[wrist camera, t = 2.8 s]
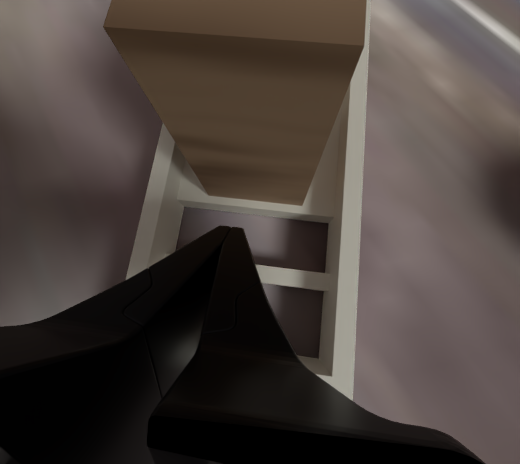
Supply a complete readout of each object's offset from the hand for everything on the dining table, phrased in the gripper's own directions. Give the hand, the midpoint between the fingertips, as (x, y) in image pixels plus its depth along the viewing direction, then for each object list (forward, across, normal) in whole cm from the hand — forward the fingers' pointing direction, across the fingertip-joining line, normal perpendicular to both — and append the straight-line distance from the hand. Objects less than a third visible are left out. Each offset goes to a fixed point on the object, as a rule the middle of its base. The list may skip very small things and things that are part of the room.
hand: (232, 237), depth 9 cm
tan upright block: (+10, 0, -1) cm, 10 cm away
